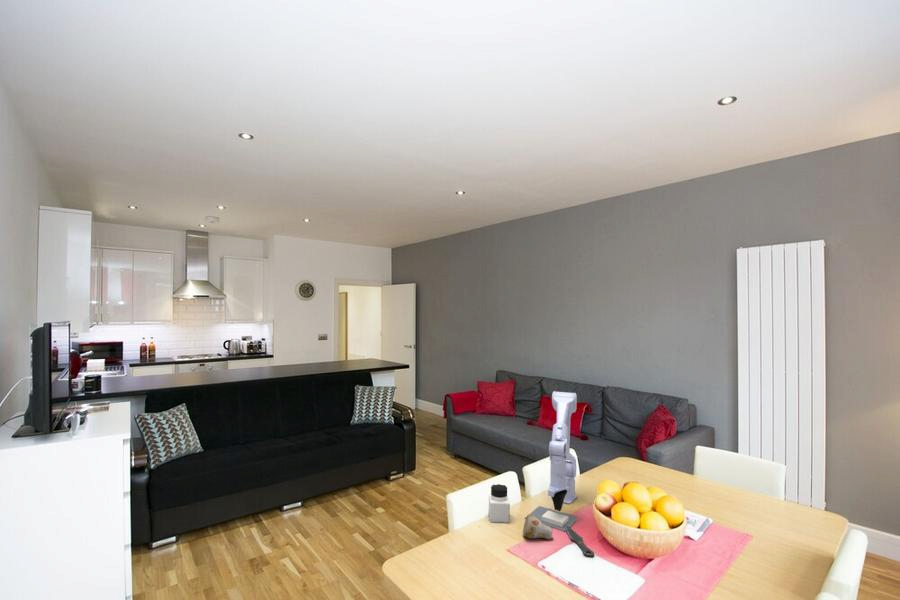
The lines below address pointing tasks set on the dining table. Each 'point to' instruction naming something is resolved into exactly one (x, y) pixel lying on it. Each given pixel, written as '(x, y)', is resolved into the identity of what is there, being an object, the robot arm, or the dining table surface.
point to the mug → (536, 528)
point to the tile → (555, 518)
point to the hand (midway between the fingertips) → (558, 509)
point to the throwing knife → (579, 541)
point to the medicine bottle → (499, 504)
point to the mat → (542, 510)
